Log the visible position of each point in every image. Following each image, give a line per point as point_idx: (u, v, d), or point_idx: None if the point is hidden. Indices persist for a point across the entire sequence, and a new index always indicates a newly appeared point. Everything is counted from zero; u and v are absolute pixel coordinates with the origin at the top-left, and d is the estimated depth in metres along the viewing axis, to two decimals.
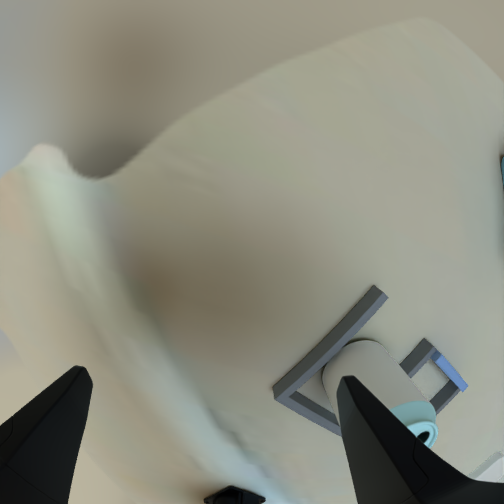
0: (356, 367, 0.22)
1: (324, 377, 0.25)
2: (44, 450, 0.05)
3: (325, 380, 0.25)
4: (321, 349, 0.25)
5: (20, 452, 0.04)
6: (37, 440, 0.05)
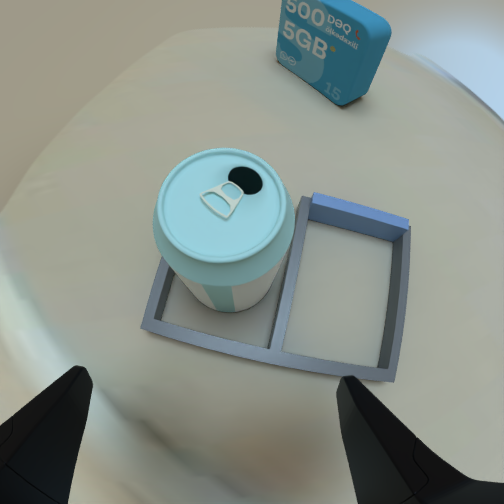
0: None
1: None
2: (44, 450, 0.05)
3: None
4: None
5: (20, 452, 0.04)
6: (38, 440, 0.05)
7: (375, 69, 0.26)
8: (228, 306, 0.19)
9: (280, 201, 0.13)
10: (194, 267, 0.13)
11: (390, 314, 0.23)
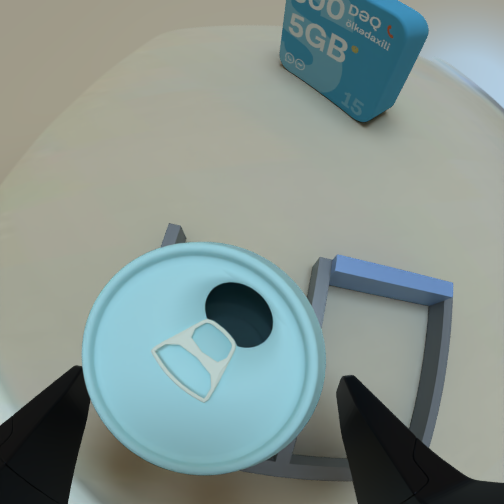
0: None
1: None
2: (44, 450, 0.05)
3: None
4: None
5: (20, 452, 0.04)
6: (37, 440, 0.05)
7: (406, 77, 0.20)
8: None
9: (308, 363, 0.06)
10: None
11: (422, 400, 0.16)
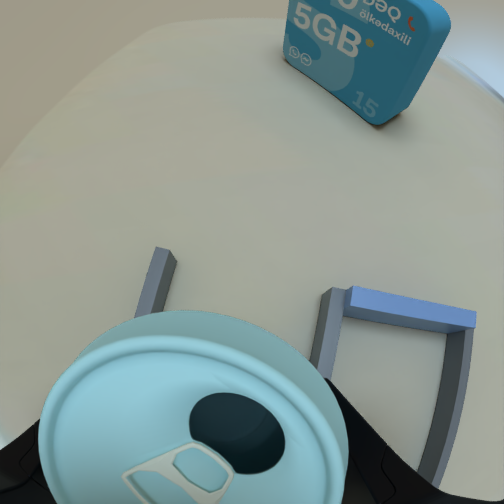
0: None
1: None
2: None
3: None
4: None
5: None
6: None
7: (424, 76, 0.17)
8: None
9: (330, 491, 0.04)
10: None
11: (436, 435, 0.13)
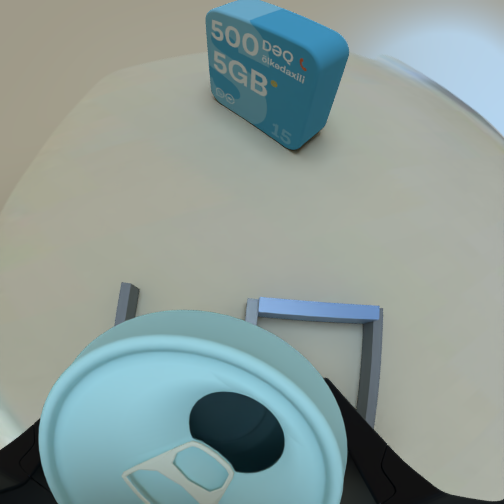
0: None
1: None
2: None
3: None
4: None
5: None
6: None
7: (332, 99, 0.23)
8: None
9: (329, 490, 0.04)
10: None
11: (360, 409, 0.19)
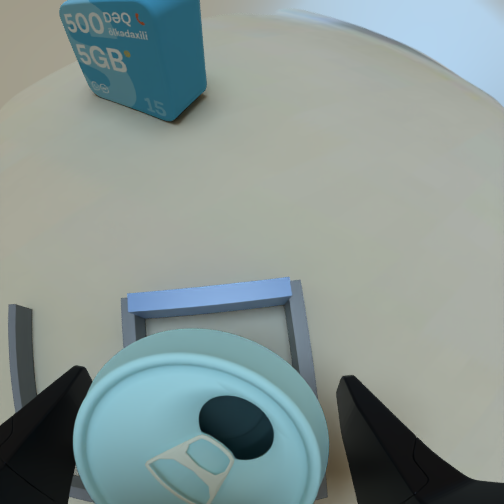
0: None
1: None
2: (44, 450, 0.05)
3: None
4: None
5: (20, 452, 0.04)
6: (37, 440, 0.05)
7: (200, 51, 0.19)
8: None
9: (310, 474, 0.05)
10: None
11: None
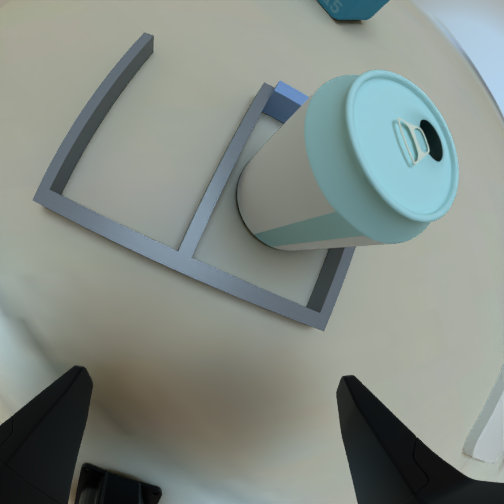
0: None
1: (240, 184, 0.18)
2: (44, 450, 0.05)
3: (241, 186, 0.17)
4: None
5: (20, 452, 0.04)
6: (37, 440, 0.05)
7: None
8: (285, 241, 0.16)
9: (453, 186, 0.09)
10: (348, 189, 0.09)
11: (335, 248, 0.20)
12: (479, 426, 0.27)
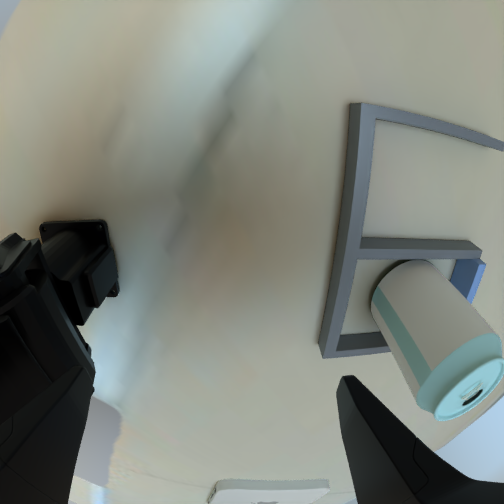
0: None
1: (411, 265, 0.21)
2: (44, 450, 0.05)
3: (411, 268, 0.21)
4: None
5: (20, 452, 0.04)
6: (37, 440, 0.05)
7: None
8: (387, 319, 0.20)
9: (450, 417, 0.14)
10: (445, 375, 0.13)
11: (378, 338, 0.25)
12: (245, 484, 0.40)
